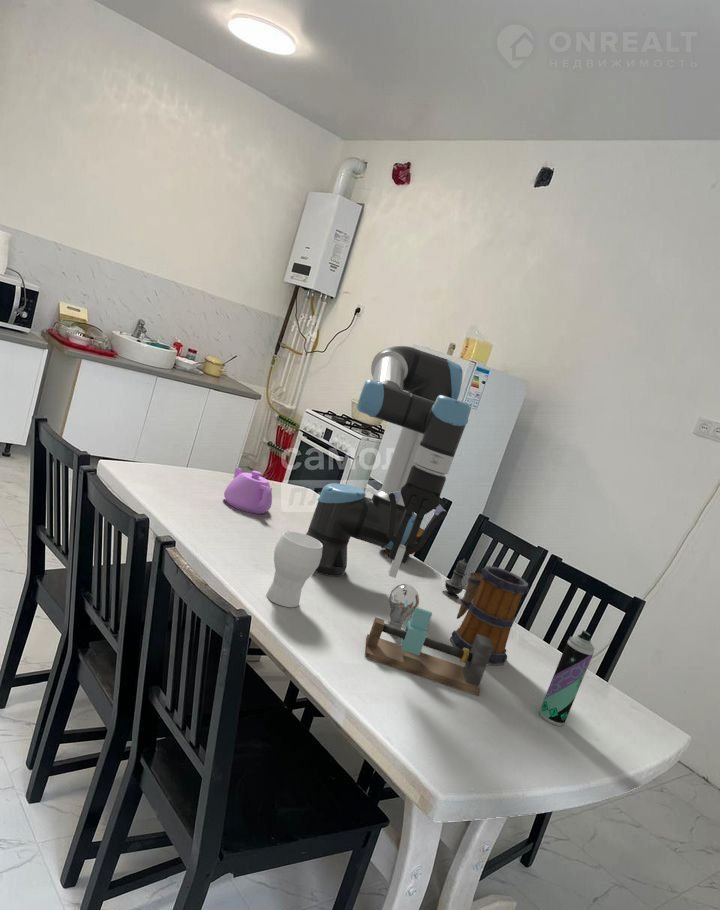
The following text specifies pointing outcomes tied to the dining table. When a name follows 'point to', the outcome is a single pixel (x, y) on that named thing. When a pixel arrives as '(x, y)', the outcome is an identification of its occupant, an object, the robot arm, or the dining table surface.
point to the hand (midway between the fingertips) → (392, 574)
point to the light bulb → (402, 604)
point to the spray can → (567, 679)
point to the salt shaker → (455, 581)
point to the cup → (293, 566)
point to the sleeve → (416, 631)
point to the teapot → (249, 492)
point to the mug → (489, 610)
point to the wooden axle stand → (431, 658)
